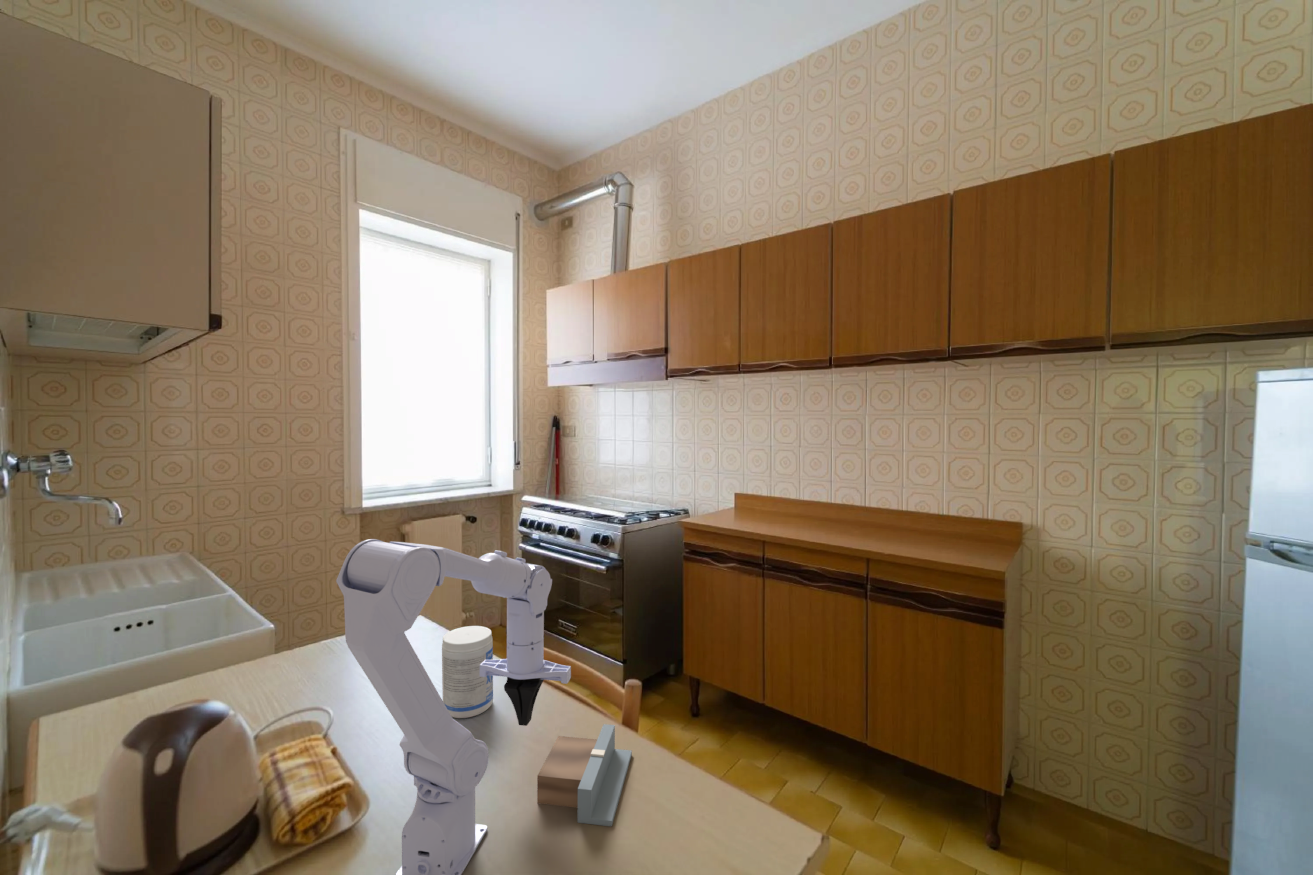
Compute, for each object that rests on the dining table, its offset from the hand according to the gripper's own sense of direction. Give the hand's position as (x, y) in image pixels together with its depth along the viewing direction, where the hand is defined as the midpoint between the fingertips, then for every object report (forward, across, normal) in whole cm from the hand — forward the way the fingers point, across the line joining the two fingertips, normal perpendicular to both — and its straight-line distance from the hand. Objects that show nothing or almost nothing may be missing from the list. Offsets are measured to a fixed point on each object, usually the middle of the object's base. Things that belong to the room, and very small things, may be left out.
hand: (525, 721), depth 84 cm
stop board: (+9, -13, 0) cm, 16 cm away
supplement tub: (+9, +19, -18) cm, 28 cm away
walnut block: (+9, -8, 0) cm, 12 cm away
